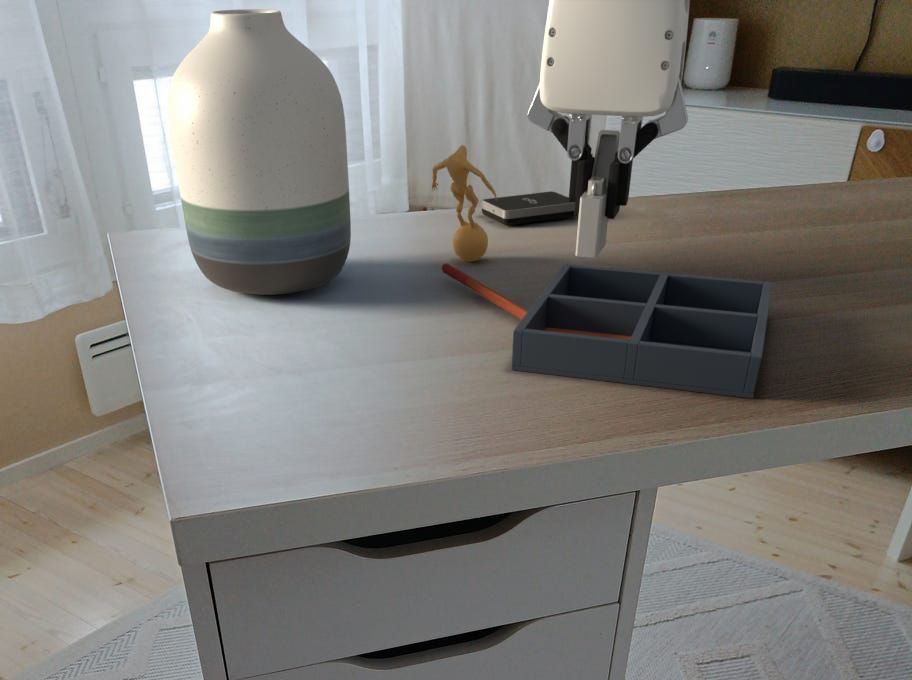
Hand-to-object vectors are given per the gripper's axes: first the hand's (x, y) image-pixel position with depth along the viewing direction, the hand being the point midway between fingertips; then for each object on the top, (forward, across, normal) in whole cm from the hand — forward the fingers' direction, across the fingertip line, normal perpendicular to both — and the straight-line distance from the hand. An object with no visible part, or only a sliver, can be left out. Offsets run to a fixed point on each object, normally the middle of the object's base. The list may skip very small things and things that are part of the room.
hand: (597, 211), depth 74 cm
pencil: (+11, +12, -10) cm, 19 cm away
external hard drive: (+12, +16, -46) cm, 50 cm away
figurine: (+12, +18, -24) cm, 32 cm away
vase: (+12, +36, -11) cm, 39 cm away
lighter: (+3, 0, 0) cm, 3 cm away
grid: (+12, -5, -5) cm, 14 cm away
